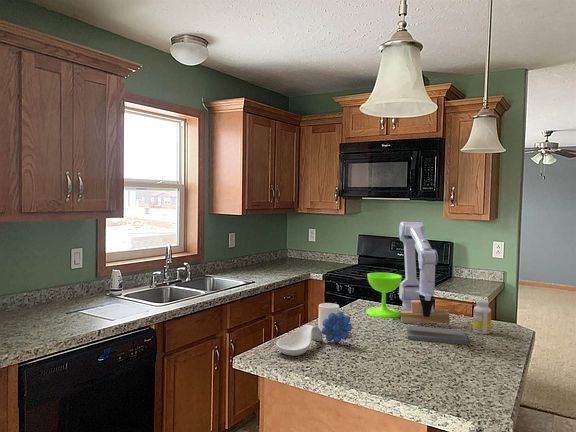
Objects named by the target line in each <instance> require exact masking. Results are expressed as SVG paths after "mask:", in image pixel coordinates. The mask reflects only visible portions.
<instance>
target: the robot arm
mask: <svg viewBox="0 0 576 432" xmlns="http://www.w3.org/2000/svg"><path fill="white" fill-rule="evenodd" d="M398 227H399V228H398V233H399V235H398V237H399V241H400V242H402V243H403V251H404V256H403V257H404V272H405V275H404V276H405V279H403V280H401V283H400V285H399V286H398V287H399V289H398V296H399V299H400V301H402V307H401V308H402V309H401V310H412V306H411V300H420V301H421V304H422V308H423V315H424V317H429V316H430V313H431V308H432V305H433V306H434V304H435V302H436V300H435V299H434V296H435V294H436V291H435V283H436V282H435V281H436V277H435V276H436V266H437V265H438V261H439V255H438V251H437V250H436V249H432V246H431V244H430V243H429V241H428V239H426V238H425V237H424V233H425V224H424V223H423V221H420V222H419V221H401V222H400V223H399V226H398ZM416 252H417V255H418V256H417V258H416ZM416 259H417V261H418V268H419V280H418V278H417V261H416ZM400 322H401V323H402V318H401V317H400ZM412 324H414V325H415V324H416V325H420V324H421V323H412Z"/></svg>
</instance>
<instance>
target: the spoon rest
mask: <svg viewBox="0 0 576 432" xmlns="http://www.w3.org/2000/svg"><path fill="white" fill-rule="evenodd" d="M323 339H324V338H323V334H322V332H321V331H320V329H319V328H318V326H316V325H311V324H305V325H303V326H301V327H300V328H298V329H296V330H294V331H293V332H290V333H289V334H287V335H284V336H283V337H281V338H280V339H278V340H277V341H276V342H275V343H276V345H275V346H276V347H277V349H278V350H279V351H280V352H281V353H282V354H284V355H287V356H291V357H293V356H295V357H298V356H301V355H303V354H304V353H306V352H307V351H308V349H309V348H310V346H311V343H312V340H313V341H318V342H322V341H323Z"/></svg>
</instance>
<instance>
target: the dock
mask: <svg viewBox="0 0 576 432" xmlns="http://www.w3.org/2000/svg"><path fill="white" fill-rule="evenodd" d="M406 335H407V336H406V337H407V340H410V341H419V342H420V341H422V342H434V343H444V344H457V345H467V346H468V345H469V339H468V338H467V337H468V336H466V333H465V332H464V330H463V329H452V328H442V327H441V328H440V327H438V328H437V327H429V326H428V327H427V326H415V325H414V326H413V325H406Z"/></svg>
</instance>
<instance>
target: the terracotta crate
mask: <svg viewBox="0 0 576 432" xmlns="http://www.w3.org/2000/svg"><path fill="white" fill-rule="evenodd" d="M411 306H412V312H423V308H422V304H421V301H420V300H411Z"/></svg>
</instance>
